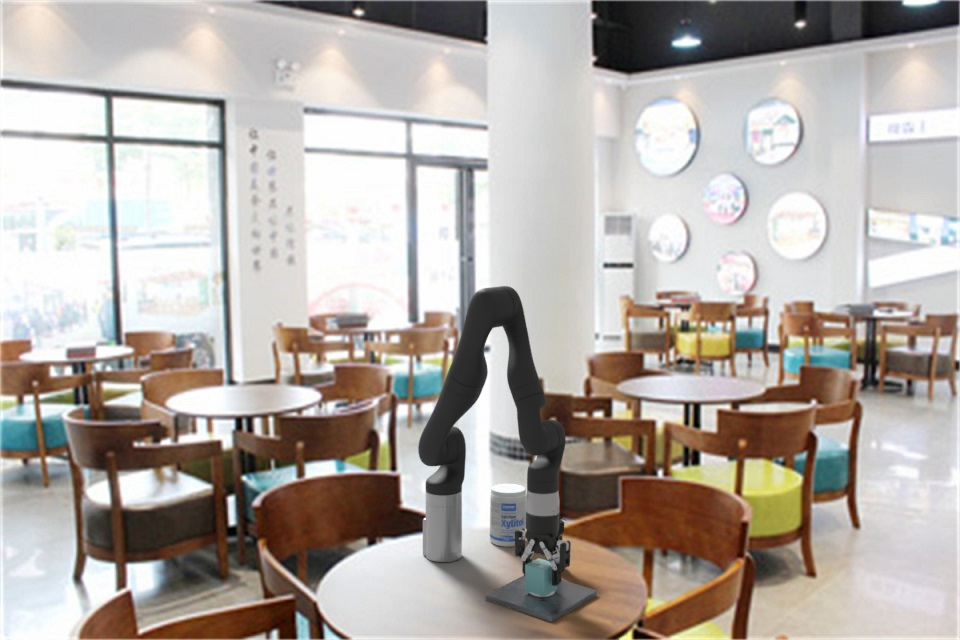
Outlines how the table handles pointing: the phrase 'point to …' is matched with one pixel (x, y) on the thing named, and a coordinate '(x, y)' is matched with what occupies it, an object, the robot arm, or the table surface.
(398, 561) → the table surface
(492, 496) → the supplement tub
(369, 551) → the table surface
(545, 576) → the teal cube with window
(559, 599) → the post base
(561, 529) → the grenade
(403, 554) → the table surface
